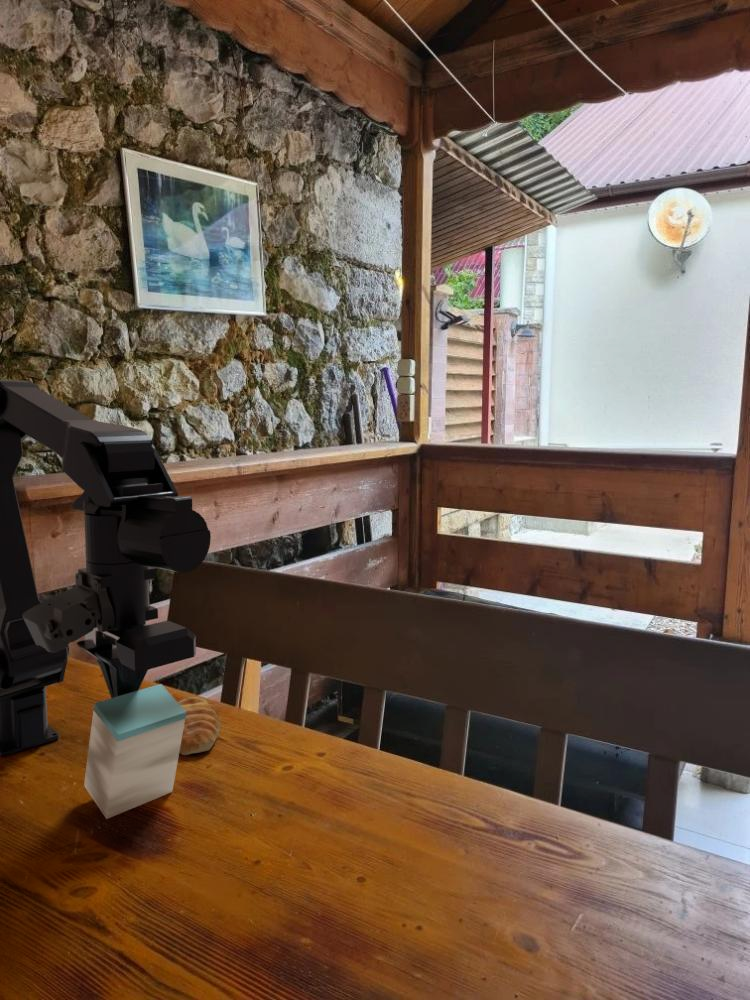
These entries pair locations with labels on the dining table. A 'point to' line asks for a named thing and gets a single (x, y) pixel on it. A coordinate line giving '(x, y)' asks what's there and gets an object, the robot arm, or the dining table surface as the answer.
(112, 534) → the robot arm
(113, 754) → the birch block
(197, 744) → the pastry
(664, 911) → the dining table surface
